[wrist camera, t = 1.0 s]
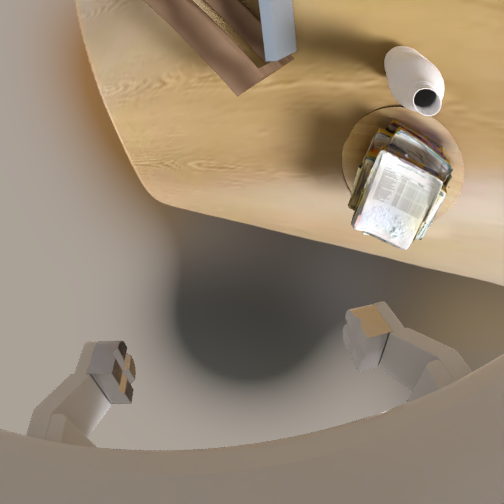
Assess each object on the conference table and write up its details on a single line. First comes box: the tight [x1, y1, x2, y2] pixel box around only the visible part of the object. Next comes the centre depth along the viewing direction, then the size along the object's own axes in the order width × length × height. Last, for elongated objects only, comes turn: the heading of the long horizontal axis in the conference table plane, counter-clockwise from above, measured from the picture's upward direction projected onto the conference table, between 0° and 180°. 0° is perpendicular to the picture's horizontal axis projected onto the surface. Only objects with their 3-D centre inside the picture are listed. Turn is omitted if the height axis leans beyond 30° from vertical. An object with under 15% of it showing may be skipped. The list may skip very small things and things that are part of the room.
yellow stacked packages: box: [342, 107, 464, 250], centre depth 46 cm, size 25×25×17 cm
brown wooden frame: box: [144, 0, 294, 97], centre depth 36 cm, size 4×24×18 cm, turn 42°
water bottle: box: [384, 46, 444, 116], centre depth 29 cm, size 7×7×25 cm
